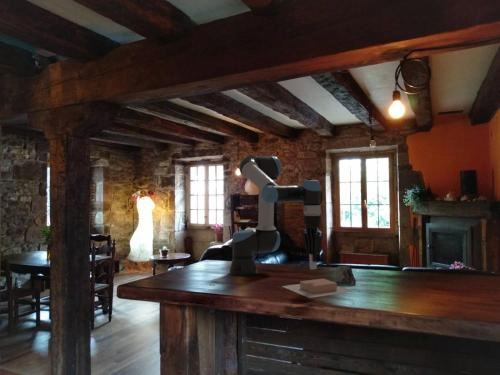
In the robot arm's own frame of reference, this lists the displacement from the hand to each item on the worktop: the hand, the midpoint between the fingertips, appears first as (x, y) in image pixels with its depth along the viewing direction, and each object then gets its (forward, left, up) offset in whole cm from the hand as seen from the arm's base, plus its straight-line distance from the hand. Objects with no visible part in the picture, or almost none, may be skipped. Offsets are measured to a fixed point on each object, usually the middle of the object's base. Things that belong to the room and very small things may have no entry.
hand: (313, 268), depth 161 cm
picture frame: (-1, 0, -7) cm, 7 cm away
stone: (-2, +19, -10) cm, 21 cm away
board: (+2, 0, -9) cm, 10 cm away
